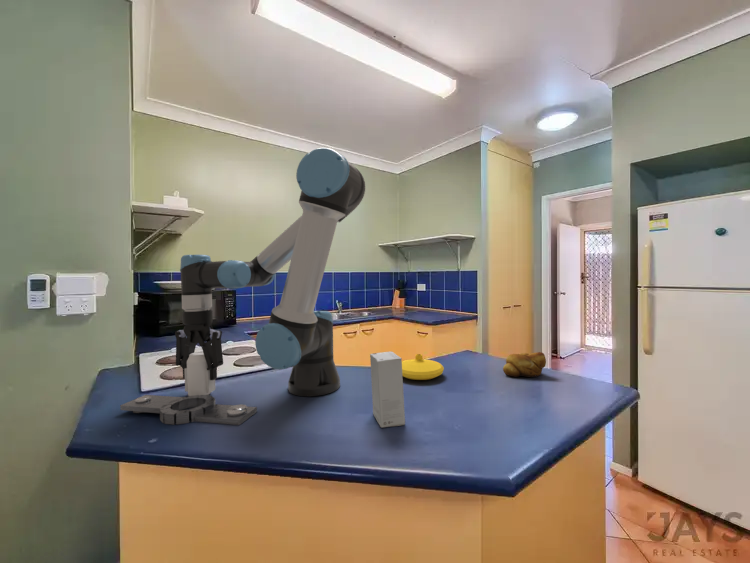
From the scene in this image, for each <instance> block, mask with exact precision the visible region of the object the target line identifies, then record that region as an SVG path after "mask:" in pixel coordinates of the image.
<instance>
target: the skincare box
mask: <svg viewBox="0 0 750 563" xmlns="http://www.w3.org/2000/svg"><path fill="white" fill-rule="evenodd" d="M369 355H370V356H369V358H370V374H371V375H370V377H371V378H370V379H371V381H370V382H371V397H372V398H371V399H372V414H373V416H374V418H375V419H376V421H377V423H378V425H379V427H380V428H389V427H398V426H399V427H400V426H405V424H406V416H405V415H406V413H405V397H404V394H405V393H404V383H403V382H404V380H403V378H404V377H403V376H402V361H403V359H402V357H401V356H399V355H397V354H396V353H395V352H393V351H383V352H375V353H370V354H369Z"/></svg>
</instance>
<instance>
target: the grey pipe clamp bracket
mask: <svg viewBox="0 0 750 563" xmlns="http://www.w3.org/2000/svg"><path fill="white" fill-rule="evenodd" d="M119 409H120V411H128V412H132V413H133V414H135V415H136V414H138V415H139V414H143V413H151V414H159V420H160V422H161V423H162V424H164V425H177V426H178V425H182V424H189V423H190V422H191V423H193V422H199V423H210V424H222V425H224V424H225V425H232V426H233V425H234V426H240V425H242V424H243V423H244V422H246V421H247V420H248V419H250V418H251V417H253V416H254V415H255V414H256V413H258V407H257V406H247V404H236V405H232V404H218V403H217V404H216V397H214V396H212V395H210V394H209V395H200V396H199V395H194V396H188V395H187V396H170V395H168V396H167V395H154V394H144V395H142V396H139V397H137V398H134V399H133V400H130V401H127V402H125V403H122V404H120V408H119Z"/></svg>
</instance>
